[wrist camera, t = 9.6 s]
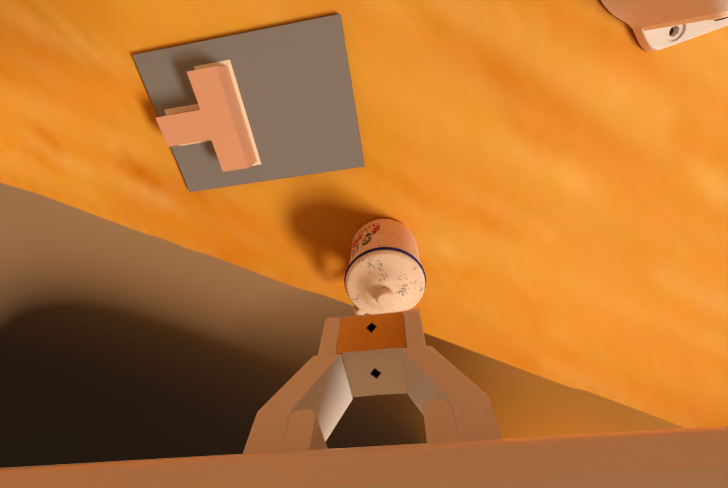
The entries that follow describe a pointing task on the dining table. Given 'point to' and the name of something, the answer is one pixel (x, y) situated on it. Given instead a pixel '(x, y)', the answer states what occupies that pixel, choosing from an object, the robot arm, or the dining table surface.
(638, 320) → the dining table surface
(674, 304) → the dining table surface
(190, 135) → the t block
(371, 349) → the robot arm
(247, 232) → the dining table surface
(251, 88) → the t mat
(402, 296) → the teacup with lid
